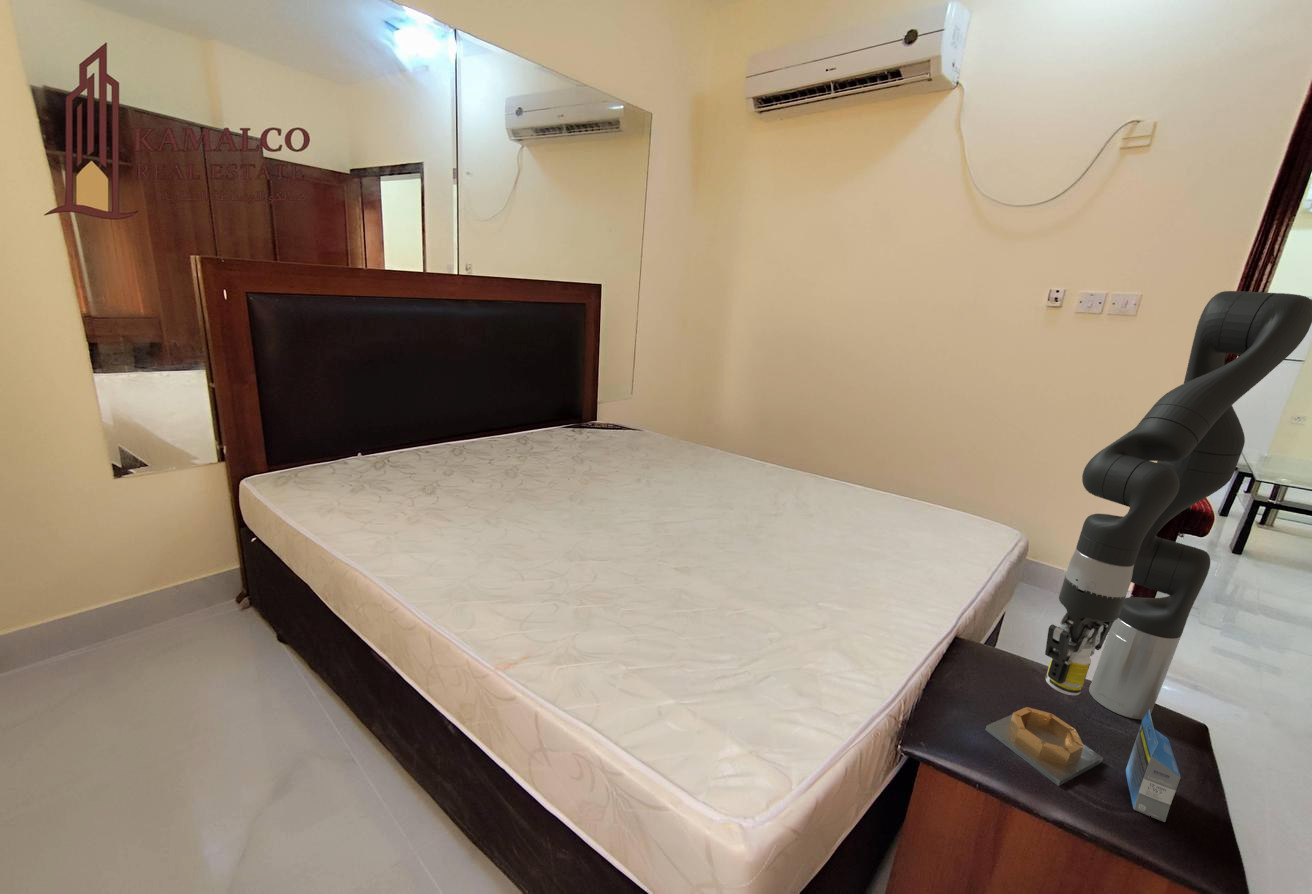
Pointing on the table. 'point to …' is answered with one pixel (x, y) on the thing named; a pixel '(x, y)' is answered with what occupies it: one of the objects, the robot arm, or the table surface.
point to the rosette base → (1042, 764)
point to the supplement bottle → (1074, 672)
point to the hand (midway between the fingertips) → (1065, 675)
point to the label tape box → (1152, 772)
